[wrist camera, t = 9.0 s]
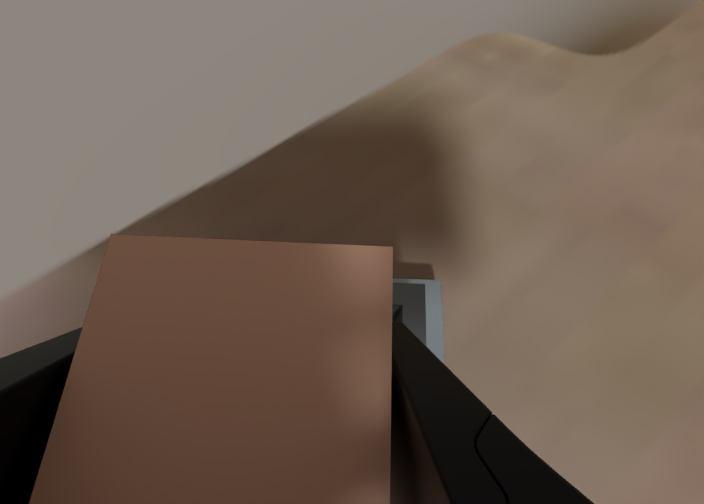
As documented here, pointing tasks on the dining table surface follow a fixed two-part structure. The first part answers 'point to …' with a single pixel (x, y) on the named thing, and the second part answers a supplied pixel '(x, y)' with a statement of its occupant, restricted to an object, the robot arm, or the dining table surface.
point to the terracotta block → (228, 377)
